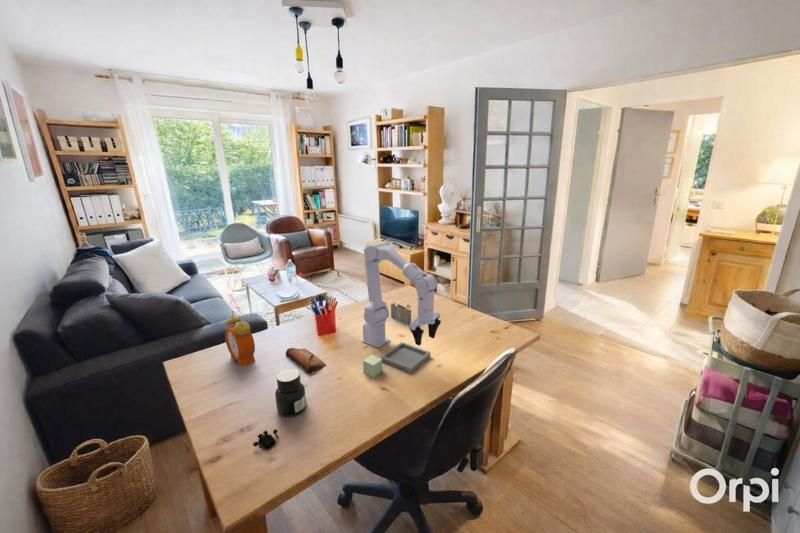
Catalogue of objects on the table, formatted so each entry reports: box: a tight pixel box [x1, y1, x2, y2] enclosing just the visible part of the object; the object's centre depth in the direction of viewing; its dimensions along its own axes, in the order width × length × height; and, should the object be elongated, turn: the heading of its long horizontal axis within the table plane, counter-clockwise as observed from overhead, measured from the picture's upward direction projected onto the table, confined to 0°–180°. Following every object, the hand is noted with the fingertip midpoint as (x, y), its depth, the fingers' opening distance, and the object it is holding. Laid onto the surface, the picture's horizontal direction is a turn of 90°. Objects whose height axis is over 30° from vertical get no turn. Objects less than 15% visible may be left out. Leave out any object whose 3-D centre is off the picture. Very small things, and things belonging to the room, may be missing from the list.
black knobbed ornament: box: [252, 428, 280, 450], centre depth 95 cm, size 7×2×5 cm
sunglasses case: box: [285, 347, 327, 375], centre depth 134 cm, size 18×7×7 cm
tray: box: [380, 341, 431, 374], centre depth 135 cm, size 14×14×2 cm
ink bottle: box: [274, 368, 307, 418], centre depth 107 cm, size 10×9×12 cm
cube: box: [362, 354, 383, 378], centre depth 126 cm, size 5×5×5 cm
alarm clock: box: [224, 310, 256, 368], centre depth 132 cm, size 13×6×20 cm, turn 47°
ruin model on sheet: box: [390, 302, 412, 325], centre depth 167 cm, size 11×3×10 cm, turn 44°
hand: (424, 340), depth 129 cm, fingers open, 7 cm apart
